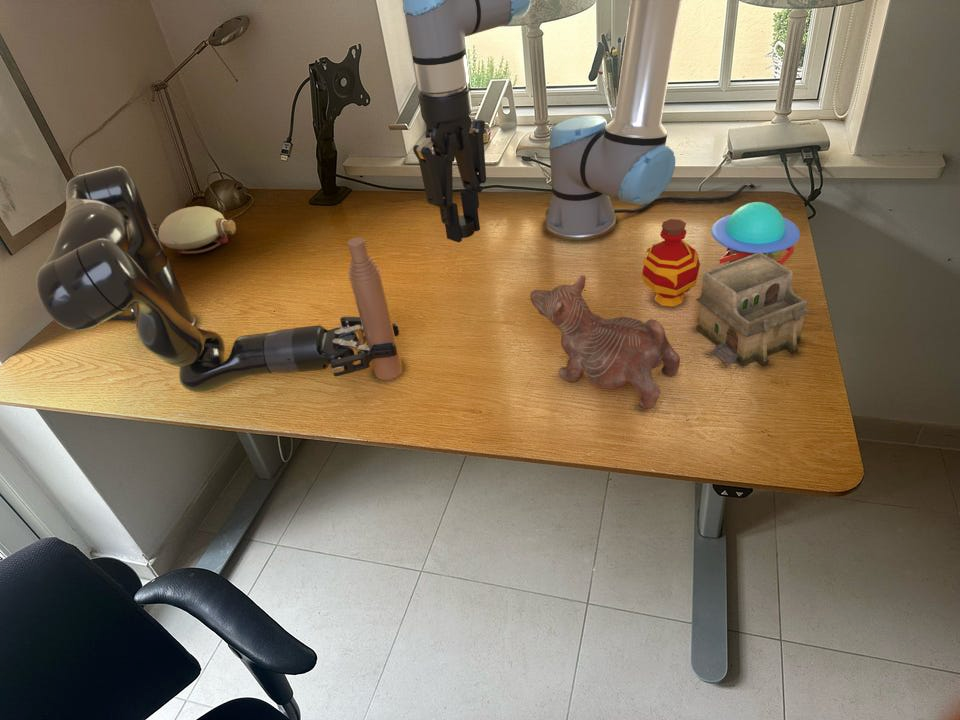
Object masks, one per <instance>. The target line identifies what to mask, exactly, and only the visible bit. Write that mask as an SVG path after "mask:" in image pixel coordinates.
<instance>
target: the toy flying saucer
mask: <svg viewBox="0 0 960 720" xmlns="http://www.w3.org/2000/svg"><path fill="white" fill-rule="evenodd" d="M711 236H712V237H713V239H714V240H715V242H717V243H719V245H721V246H723V247H725V248H726V252H725V253H724V254H723V255H722V257H721V258H719V265H721V264H725V263H731V262H734V261H737V260H739V259H742V258H745V257H748V256H751V255H753V254H756V253H759V252H761V253H762V254H764V255H766V256H767V257H769V258H771V259H772V260H774V261H775V258H774V257H775V256H776V255H778V254H779V253H781V252H782V251H785V250H786V253H785V254H784V255H783V256H782V257H781V259H779V260H777V261H776V262H778V263H779V264H781V265H784V264H785V262H786V261H788V260H789V258H790V257H791V256H792V255H793V254H794V250H795V247H794V245H795V244H796V243H797V242H799V240H800V238H801V231H800V229H799V227H798V226H797V225H796V224H795V223H794V222H793V221H792V220H790V219H788V218H786V217H784V216H783V214H782V213H781V212H780V210H778V208H776V207H775V206H773V205H771V204H769V203H767V202H763V201H762V202H761V201H754V202H749V203H746V204H743V205H741V206H740V207H738V208H737V209H736V210H734V211H733V213H732V214H727V215H726V216H723V217H721V218H719V219H718V220H716V221H715V222H714V223H713V225H712V227H711Z"/></svg>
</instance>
